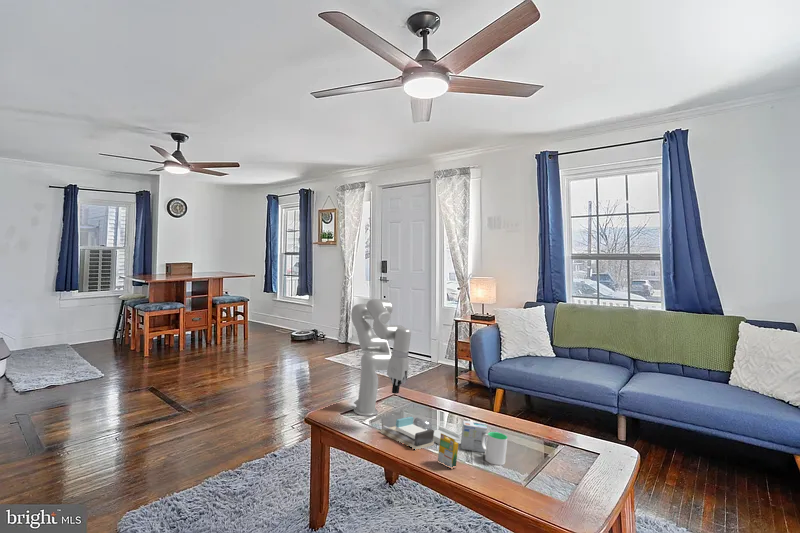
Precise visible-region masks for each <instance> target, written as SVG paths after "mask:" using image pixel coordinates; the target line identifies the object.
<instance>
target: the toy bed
mask: <svg viewBox="0 0 800 533" xmlns="http://www.w3.org/2000/svg"><path fill="white" fill-rule="evenodd" d="M414 420H415V418H414V417H413V416H407V417H402V418H398V419H396V421H395V422H396V423H395V426H396V428H395V430H397V431H399V433H401V434H403V435H404V434H405V436H407V437H409V438H411V439H413V440H415V434H416V433H419V432H423V431H427V430H425V429H422V428H420V427H418V426H416V425H414V424H413V422H414Z"/></svg>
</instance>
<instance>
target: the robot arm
mask: <svg viewBox="0 0 800 533" xmlns="http://www.w3.org/2000/svg"><path fill="white" fill-rule="evenodd" d="M393 309H394V307H393V304H392V302H391V301H389V300H386V299H377V298H372V299H369V300H368V301H367V303H358V304H355V305H354V306H353V307H352V308H351V312H350V314H351V315H350V319H351V321H352V325H353V326H354V329H355V331H356V335H357V339H358V343H359V347H360V349H361V351H362V352H364V353H363V354H362V355H361V358H360V367H361V370H360V382H359V387H358V388H359V390H358V397H357V399H356V400H355V401H354V402H353V404H354V405H355V407H354V408H353V412H354V413H355V414H357V415H360V416H364V417H373V416H376V415H377V414H378V413H379V412H378V409H376V403H377V398H378V397H377V395H378V386H379V376H378V374H377V372H376V371H386V375H387V377H388V378H389V379H390V380H391V384H392V387H391V394H395V395H396V394H399V393H400V387H401V385H402V384H406V383H407V379H408V378H409V377H408V376H409V365H410V363H409V354H410V353H409V352H410V345H411V344H410V343H411V336H412V331H411V329H409V328H407V327H404V326H402V325H400V324H399V325H398V324H388V323H389V321H390V320H391V314H392V313H393ZM366 320H371V321H372V320H373V324H372V327H373V328H372V327H371V325H370V324H369V323H368V321H366ZM389 341H393V347H392V350H391V347H390V344H389Z"/></svg>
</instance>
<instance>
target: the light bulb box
mask: <svg viewBox="0 0 800 533" xmlns="http://www.w3.org/2000/svg"><path fill="white" fill-rule="evenodd" d="M461 426H462V428H461V435H460V449H461V450H467V451H473V452H480V453H486V451H485V450H484V449H483V447H482V437H483V435H485V434H488V427H487V424H486V423H485V422H475V421H471V420H465V419H464V420H462V425H461ZM485 446H486V447H487V436H486V437H485Z"/></svg>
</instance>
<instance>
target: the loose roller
mask: <svg viewBox="0 0 800 533" xmlns="http://www.w3.org/2000/svg"><path fill="white" fill-rule="evenodd" d="M413 424H414V425H416V426H418V427H420V428H422V429H425V430H430V429H432V423H430V422H429V421H426V420H424V419H422V418H420V417H415V418H414V419H413Z"/></svg>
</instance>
